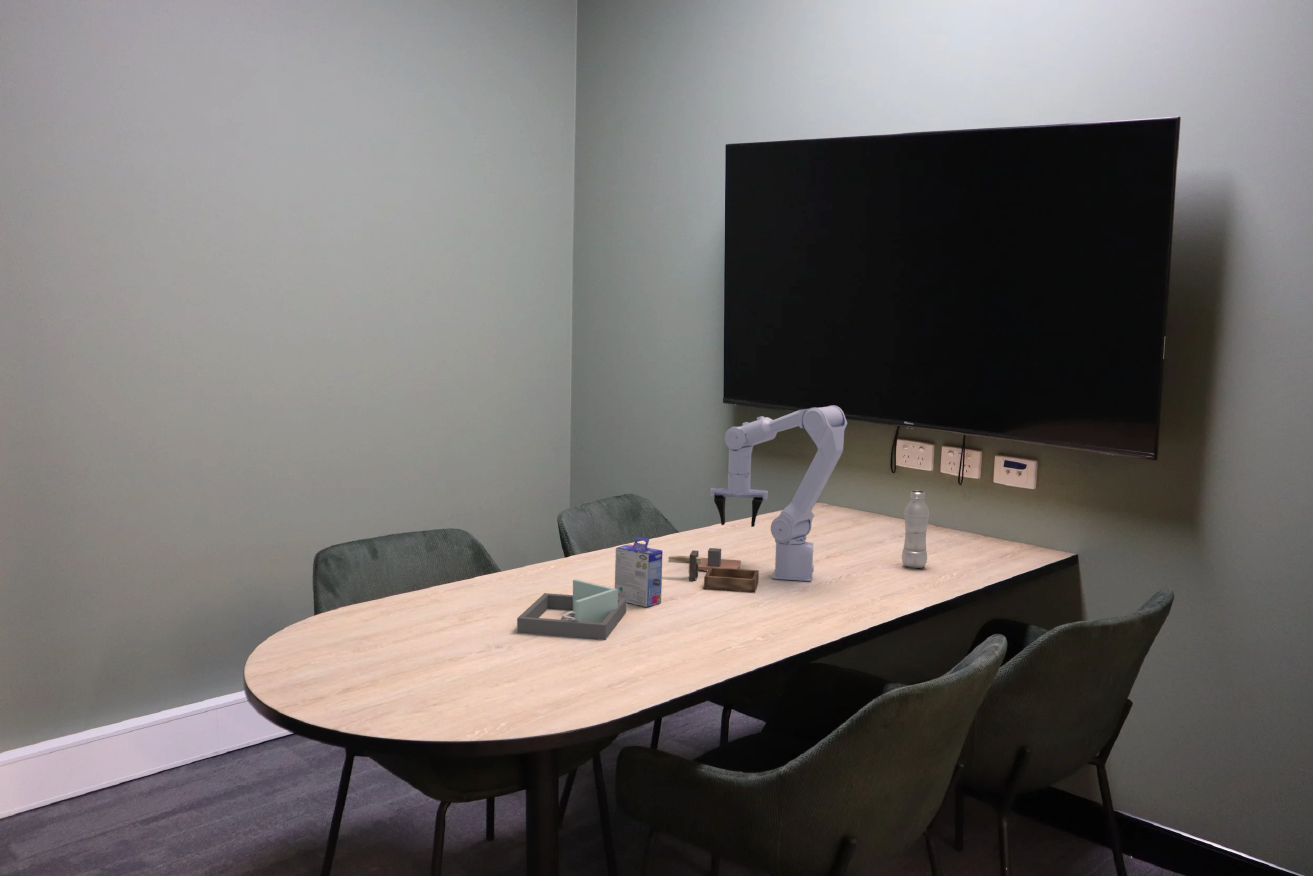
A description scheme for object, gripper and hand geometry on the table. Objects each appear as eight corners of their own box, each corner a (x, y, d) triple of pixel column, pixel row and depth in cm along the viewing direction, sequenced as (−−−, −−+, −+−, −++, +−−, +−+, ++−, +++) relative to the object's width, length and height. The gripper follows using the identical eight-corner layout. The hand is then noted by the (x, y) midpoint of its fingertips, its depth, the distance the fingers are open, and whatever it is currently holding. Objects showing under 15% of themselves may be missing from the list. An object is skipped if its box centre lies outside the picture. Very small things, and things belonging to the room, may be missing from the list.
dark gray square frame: (626, 612, 217) (626, 599, 216) (605, 639, 199) (605, 625, 198) (544, 606, 220) (544, 593, 220) (517, 632, 202) (517, 618, 202)
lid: (740, 566, 258) (741, 545, 258) (736, 575, 250) (737, 553, 249) (694, 563, 261) (695, 542, 260) (689, 572, 252) (689, 550, 251)
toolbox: (758, 581, 244) (759, 554, 243) (754, 592, 234) (755, 565, 233) (691, 576, 247) (692, 550, 246) (685, 587, 237) (685, 560, 236)
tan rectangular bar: (701, 562, 244) (701, 557, 244) (700, 564, 243) (701, 558, 243) (669, 560, 246) (669, 555, 246) (668, 562, 244) (668, 556, 244)
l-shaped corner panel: (575, 612, 218) (575, 579, 217) (617, 624, 210) (617, 589, 209) (536, 626, 208) (536, 591, 207) (578, 638, 201) (578, 602, 200)
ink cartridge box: (663, 603, 224) (664, 539, 222) (647, 608, 220) (649, 544, 218) (628, 594, 230) (629, 533, 228) (613, 600, 226) (614, 537, 224)
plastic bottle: (924, 564, 262) (928, 489, 260) (928, 571, 255) (933, 494, 253) (899, 563, 263) (903, 488, 260) (903, 570, 256) (907, 493, 253)
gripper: (709, 474, 253) (707, 526, 255) (766, 477, 250) (764, 530, 252) (712, 469, 260) (711, 521, 262) (768, 472, 257) (767, 524, 259)
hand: (738, 525), depth 257 cm, fingers open, 7 cm apart
